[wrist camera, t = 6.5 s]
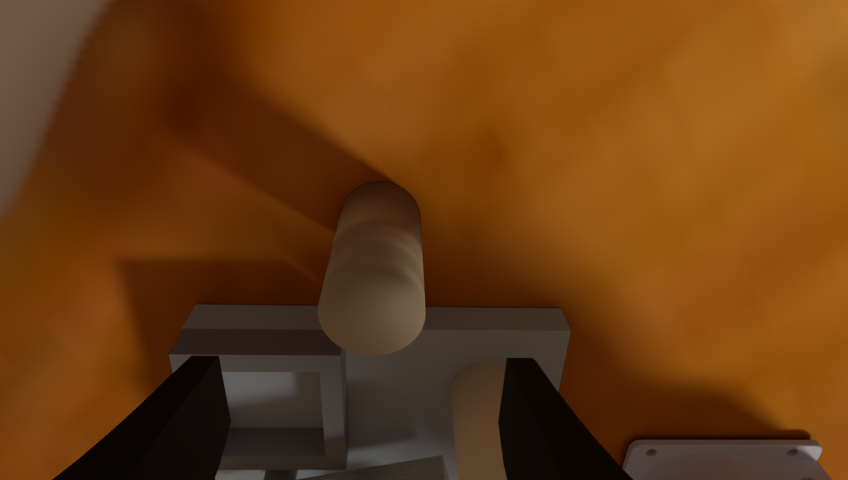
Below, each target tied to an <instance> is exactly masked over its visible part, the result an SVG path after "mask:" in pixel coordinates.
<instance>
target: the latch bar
mask: <svg viewBox="0 0 848 480" xmlns="http://www.w3.org/2000/svg"><path fill="white" fill-rule="evenodd" d="M296 480H449V476H448V473H447V469H446V466H445V462H444V458H443V455H440V456H434V457H428V458H422V459H416V460H410V461H404V462H398V463H392V464H386V465H380V466H374V467H368V468H362V469H356V470H350V471H344V472H338V473H332V474H326V475H320V476H314V477H308V478H302V479H296Z"/></svg>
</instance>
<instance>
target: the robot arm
mask: <svg viewBox="0 0 848 480" xmlns="http://www.w3.org/2000/svg"><path fill="white" fill-rule="evenodd" d="M230 423H231V418H230V413H229V407H228V402H227V397H226V391H225V386H224V381H223V375H222V370H221V365H220V359H219V356H194V355H192V356H191V357H189V358H188V359H187V360H186V361H185V362H184V363H183V364H182V365H181V366H180V367H179V368H178V369H177V370H176V371H175V372H174V373H172V374H171V375H170V376H169V377H168V378H167V379H166V380H165V381H164V382H163V383H162V384H161V385H160V386H159V387H158V388H157V389H156V390H155V391H154V392H153V393H152V394H151V395H150V396H149V397H148V398H147V399H146V400H145V401H143V402H142V403H141V404H140V405H139V406H138V407H137V408H136V409H135V410H134V411H133V412H132V413H131V414H129V415H128V416H127V417H126V418H125V419H124V420H123V421H122V422H121V423H120V424H119V425H118V426H116V427H115V428H114V429H113V430H112V431H111V432H110V433H109V434H107V435H106V436H105V437H104V438H103V439H101V440H100V441H99V442H98V443H97V444H96V445H94V446H93V447H92V448H91V449H90V450H89V451H87V452H86V453H85V454H84V455H83V456H82V457H80V458H79V459H78V460H77V461H76V462H74V463H73V464H72V465H71V466H69V467H68V468H67V469H65V470H64V471H63V472H62V473H60V474H59V475H58V476H56V477H55V478H54V479H52V480H214V479H215V476H216V474H217V471H218V468H219V466H220V463H221V459H222V455H223V451H224V448H225V444H226V440H227V436H228V432H229V427H230ZM498 425H499V433H500V442H501V449H502V457H503V464H504V468H505V472H506V477H507V480H832V479H831V478H830V477H829V475H828V474H827V473H826V472H825V470H824V469H823V468H822V467H821V465H820V464H819V463H818V462H817V460H818V458H819V456H820V454H821V452H822V447H821V446H820V445H819V443H818V442H817V441H815V440H636V441H633V442H632V443H631V444H630V445H629V447H628V450H627V453H626V457H625V460H624V463H623V466H622V467H621V466H620V465H619V464H618V463H617V462H616V461H615V460H614V459H613V458H612V457H611V456H610V454H609V453H608V452H607V451H606V450H605V449H604V448H603V447H602V446H601V444H600V443H599V442H598V441H597V440H596V439H595V438H594V436H593V435H592V434H591V433H590V432H589V430H588V429H587V428H586V427H585V425H584V424H583V423H582V422H581V421H580V419H579V418H578V417H577V416H576V414H575V413H574V412H573V411H572V409H571V408H570V407H569V405H568V404H567V403H566V402H565V400H564V399H563V398H562V396H561V395H560V394H559V392H558V391H557V389H556V388H555V387H554V385H553V384H552V383H551V381H550V380H549V378H548V377H547V376H546V374H545V373H544V371H543V370H542V368H541V367H540V366H539V364H538V363H537V361H536V360H535V359H534V358H507V361H506V368H505V375H504V383H503V390H502V397H501V404H500V411H499V419H498Z"/></svg>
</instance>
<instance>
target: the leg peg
mask: <svg viewBox="0 0 848 480" xmlns="http://www.w3.org/2000/svg"><path fill="white" fill-rule="evenodd" d="M425 316H426V310H425V291H424V273H423V254H422V236H421V217H420V210H419V207H418V205H417V203H416V201H415V199H414V198H413V197H412V196H411V194H410V193H408V192H407V191H406V190H405V189H403V188H402V187H400V186H398V185H395V184H392V183H388V182H371V183H367V184H364V185H362V186H360V187H358V188H356V189H355V190H354V191H352V192H351V193H350V194H349V195H348V197H347V198H346V200H345V201H344V203H343V206H342V209H341V213H340V217H339V221H338V225H337V229H336V234H335V238H334V242H333V246H332V250H331V254H330V258H329V262H328V266H327V271H326V275H325V279H324V283H323V287H322V291H321V295H320V299H319V304H318V318H319V322H320V325H321V327H322V329H323V331H324V332H325V334H326V335H327V336H328V337H329V338H330V339H331V340H332V341H333V342H334V343H335V344H337V345H338V346H340V347H341V348H343V349H345V350H347V351H350V352H352V353H356V354H360V355H368V356H379V355H386V354H390V353H393V352H396V351H399V350H400V349H402V348H404V347H406V346H407V345H409V344H410V343H411V342H412V341H413V340H414V339H415V338H416V337H417V336H418V335H419V333H420V332H421V330H422V328H423V325H424V322H425Z"/></svg>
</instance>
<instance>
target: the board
mask: <svg viewBox="0 0 848 480" xmlns="http://www.w3.org/2000/svg"><path fill="white" fill-rule="evenodd" d="M425 310H426V316H425V322H424V325H423V328H422V330H421V332H420V333H419V335H418V336H417V337H416V338H415V339H414V340H413V341H412V342H411V343H410V344H409V345H407V346H406V347H404V348H402V349H400V350H399V351H396V352H393V353H390V354H386V355H379V356H368V355H360V354H356V353H352V352H350V351H347V350H345V349H343V348H341V347H340V346H338V345H337V344H335V343H334V342H333V341H332V340H331V339H330V338H329V337H328V336H327V335H326V334H325V332H324V331H323V329H322V327H321V325H320V322H319V318H318V306H299V305H208V304H195V306H194V307H193V309H192V311H191V313H190V314H189V316H188V318H187V319H186V321H185V323H184V325H183V326H182V332H181V333H180V335H179V337H178V339H177V340H176V342H175V344H174V346H173V347H172V349H171V351H170V352H169V354H168V355H169V359H170V363H171V367H172V371H173V373H174V372H175V371H176V370H177V369H178V368H179V367H180V366H181V365H182V364H183V363H184V362H185V361H186V360H187V359H188V358H189V357H191V356H192V355H194V356H219V359H220V365H221V370H222V375H223V381H224V386H225V391H226V397H227V402H228V407H229V413H230V418H231V423H230V427H229V432H228V436H227V440H226V444H225V448H224V451H223V455H222V459H221V463H220V466H219V468H218V471H217V474H216V476H215V479H216V480H296V479H302V478H308V477H314V476H320V475H326V474H332V473H338V472H344V471H350V470H356V469H362V468H368V467H374V466H380V465H386V464H392V463H398V462H404V461H410V460H416V459H422V458H428V457H434V456H440V455H443V458H444V462H445V466H446V469H447V473H448V476H449V480H507V477H506V472H505V468H504V464H503V457H502V449H501V442H500V433H499V425H498V419H499V411H500V404H501V397H502V390H503V383H504V375H505V368H506V361H507V358H534V359H535V360H536V361H537V363H538V364H539V366H540V367H541V368H542V370H543V371H544V373H545V374H546V376H547V377H548V378H549V380H550V381H551V383H552V384H553V385H554V387H555V388H556V389H557V391H558V392H559V387H560V382H561V377H562V372H563V367H564V363H565V358H566V353H567V348H568V343H569V338H570V333H571V330H570V327H569V325H568V323H567V320H566V318H565V316H564V313H563V311H562V309H561V308H481V307H425Z"/></svg>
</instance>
